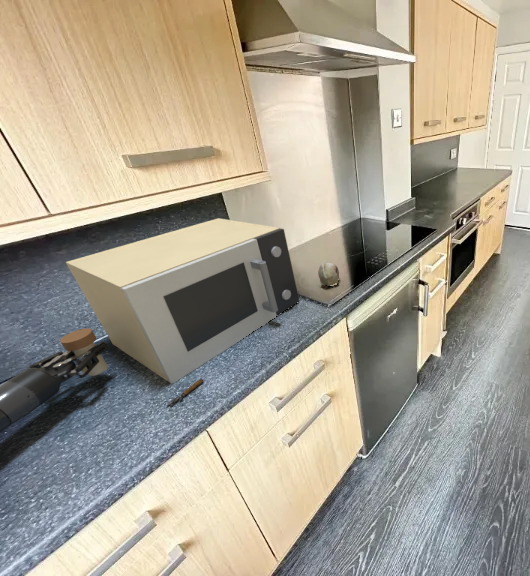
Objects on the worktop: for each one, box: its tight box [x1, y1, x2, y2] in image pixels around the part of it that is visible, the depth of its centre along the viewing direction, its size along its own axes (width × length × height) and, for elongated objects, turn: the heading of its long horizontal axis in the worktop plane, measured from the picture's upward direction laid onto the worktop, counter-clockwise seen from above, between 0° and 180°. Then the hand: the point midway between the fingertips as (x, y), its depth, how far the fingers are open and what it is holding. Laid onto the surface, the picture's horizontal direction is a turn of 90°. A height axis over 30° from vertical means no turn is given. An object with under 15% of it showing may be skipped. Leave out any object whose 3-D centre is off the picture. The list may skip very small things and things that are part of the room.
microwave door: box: [121, 239, 278, 385], centre depth 84 cm, size 7×34×27 cm, turn 148°
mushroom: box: [59, 327, 109, 377], centre depth 77 cm, size 6×6×11 cm
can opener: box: [165, 378, 204, 408], centre depth 75 cm, size 9×2×1 cm, turn 149°
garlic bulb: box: [317, 261, 340, 287], centre depth 120 cm, size 9×8×10 cm
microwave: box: [65, 217, 300, 383], centre depth 97 cm, size 35×44×27 cm
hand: (96, 344), depth 80 cm, fingers closed on mushroom, 4 cm apart
